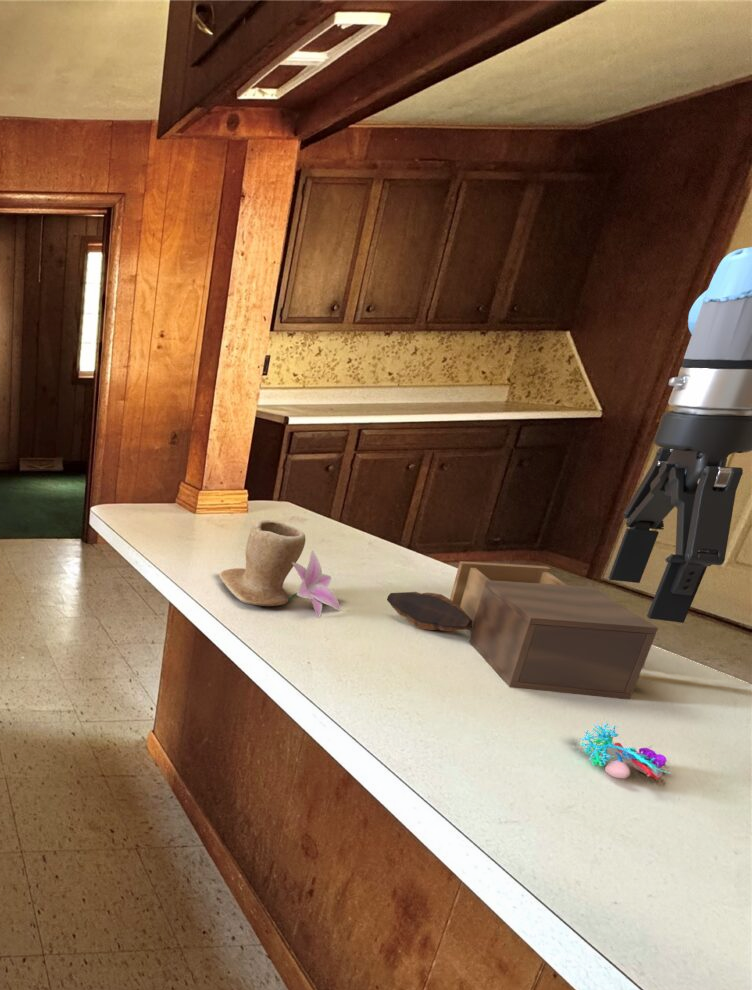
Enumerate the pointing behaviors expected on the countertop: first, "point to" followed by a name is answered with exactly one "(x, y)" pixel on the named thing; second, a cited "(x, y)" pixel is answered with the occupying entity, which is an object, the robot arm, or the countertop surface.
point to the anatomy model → (641, 762)
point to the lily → (315, 585)
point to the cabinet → (561, 638)
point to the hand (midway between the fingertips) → (642, 599)
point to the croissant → (430, 611)
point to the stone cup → (266, 564)
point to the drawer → (476, 574)
